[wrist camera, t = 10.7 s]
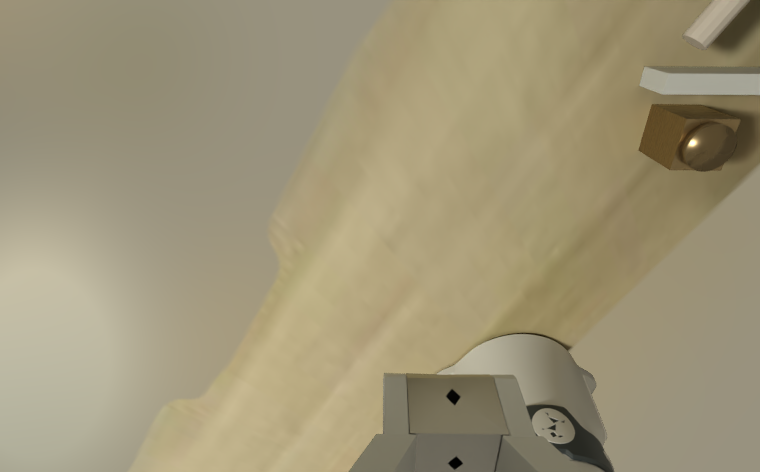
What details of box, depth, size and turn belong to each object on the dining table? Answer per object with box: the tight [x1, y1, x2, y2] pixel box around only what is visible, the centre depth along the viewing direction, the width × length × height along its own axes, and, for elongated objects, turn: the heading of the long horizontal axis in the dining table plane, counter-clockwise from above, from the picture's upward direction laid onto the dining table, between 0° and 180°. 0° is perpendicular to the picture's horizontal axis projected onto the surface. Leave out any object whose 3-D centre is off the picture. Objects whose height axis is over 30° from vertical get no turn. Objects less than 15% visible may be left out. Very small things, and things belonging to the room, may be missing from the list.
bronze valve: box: [639, 104, 741, 171], centre depth 36 cm, size 4×4×6 cm
